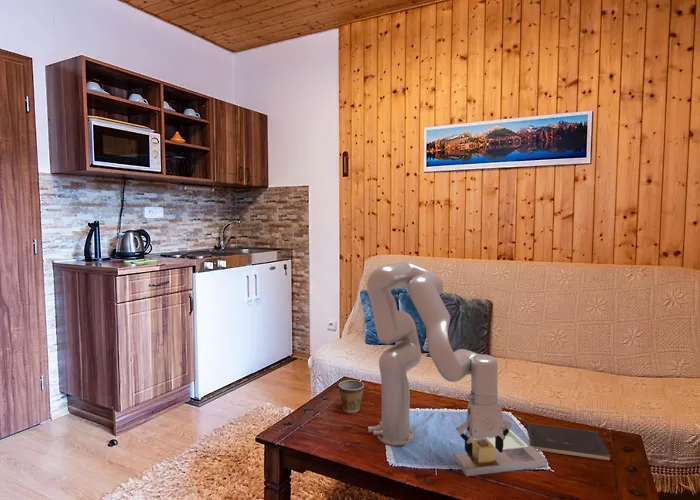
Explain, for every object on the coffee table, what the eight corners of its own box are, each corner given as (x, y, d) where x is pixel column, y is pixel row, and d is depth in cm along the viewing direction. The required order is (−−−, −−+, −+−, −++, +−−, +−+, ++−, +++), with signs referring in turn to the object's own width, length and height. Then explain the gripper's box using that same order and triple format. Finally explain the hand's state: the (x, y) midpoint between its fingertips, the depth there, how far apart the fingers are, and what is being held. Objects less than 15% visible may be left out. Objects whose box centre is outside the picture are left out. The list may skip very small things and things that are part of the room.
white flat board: (466, 477, 126) (466, 469, 125) (455, 462, 133) (455, 454, 133) (547, 468, 130) (547, 460, 130) (531, 453, 138) (531, 446, 138)
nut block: (478, 471, 128) (478, 447, 127) (470, 461, 133) (471, 438, 132) (494, 469, 129) (494, 445, 128) (486, 460, 133) (486, 437, 133)
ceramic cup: (364, 415, 165) (364, 389, 164) (338, 415, 165) (338, 389, 164) (363, 400, 178) (363, 377, 177) (339, 400, 178) (339, 377, 177)
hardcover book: (610, 463, 133) (611, 456, 133) (531, 451, 140) (531, 444, 140) (597, 437, 149) (597, 430, 148) (526, 428, 155) (526, 421, 155)
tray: (497, 456, 136) (497, 450, 136) (481, 438, 147) (481, 432, 147) (529, 452, 138) (529, 446, 138) (510, 435, 149) (511, 429, 149)
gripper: (462, 405, 124) (462, 462, 125) (517, 399, 126) (517, 455, 128) (451, 394, 131) (452, 448, 132) (504, 389, 134) (504, 442, 135)
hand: (484, 452), depth 130 cm, fingers open, 9 cm apart
